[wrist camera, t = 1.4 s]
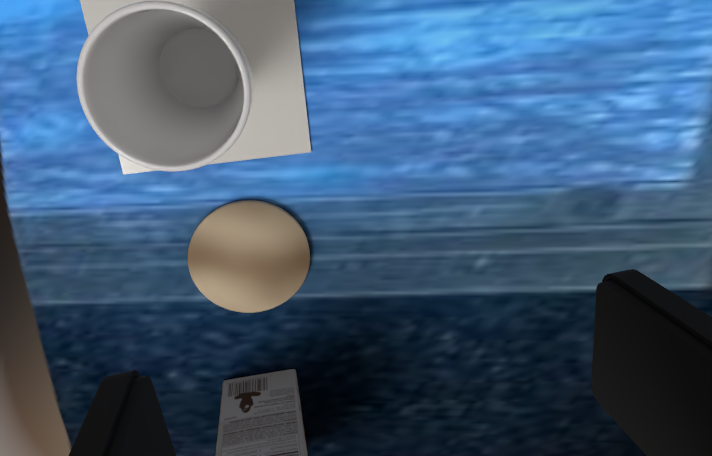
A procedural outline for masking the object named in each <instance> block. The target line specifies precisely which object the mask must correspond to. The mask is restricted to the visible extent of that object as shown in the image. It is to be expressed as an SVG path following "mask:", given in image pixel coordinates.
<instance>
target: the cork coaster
mask: <svg viewBox="0 0 712 456" xmlns="http://www.w3.org/2000/svg"><path fill="white" fill-rule="evenodd" d="M309 264H310V250H309V245H308V241H307V238H306V235H305V233H304V231H303V229H302V228H301V226H300V225H299V223H298V222H297V221H296V220H295V219H294V218H293V217H292V216H291V215H290V214H289V213H288V212H286V211H285V210H283V209H281V208H280V207H277V206H275V205H273V204H270V203H267V202H263V201H257V200H243V201H236V202H232V203H229V204H226V205H223V206H221V207H219V208H217V209H216V210H214V211H212V212H211V213H210V214H209V215H207V216H206V217H205V218H204V219H203V220H202V221H201V223H200V224H199V225H198V227H197V228H196V230H195V232H194V234H193V236H192V239H191V242H190V245H189V250H188V266H189V271H190V274H191V277H192V279H193V281H194V283H195V285H196V286H197V288H198V289H199V290H200V291H201V293H202V294H203V295H204V296H206V297H207V298H208V299H209V300H210V301H212V302H213V303H215V304H217V305H219V306H221V307H223V308H226V309H228V310H232V311H236V312H248V313H252V312H260V311H265V310H268V309H271V308H274V307H276V306H278V305H280V304H282V303H284V302H285V301H287V300H288V299H289V298H290V297H292V296H293V295H294V294H295V293H296V292H297V291H298V289H299V288H300V287H301V285H302V284H303V282H304V280H305V278H306V275H307V273H308V269H309Z"/></svg>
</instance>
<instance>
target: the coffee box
mask: <svg viewBox="0 0 712 456" xmlns="http://www.w3.org/2000/svg"><path fill="white" fill-rule="evenodd" d="M216 456H307V448H306V440H305V433H304V425H303V418H302V410H301V403H300V396H299V389H298V382H297V375H296V370H295V369H289V370H283V371H277V372H271V373H265V374H259V375H253V376H247V377H242V378H236V379H229V380H225V381H223V389H222V398H221V408H220V419H219V429H218V439H217V448H216Z"/></svg>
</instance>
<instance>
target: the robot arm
mask: <svg viewBox="0 0 712 456" xmlns="http://www.w3.org/2000/svg"><path fill="white" fill-rule="evenodd" d="M591 385H592V391H593V394H594V396H595V398H596V400H597V401H598V403H599V404H600V405H601V406H602V407H603V408H604V409H605V410H606V411H607V413H608V414H609V415H610V416H611V417H612V418H613V419H614V420H615V421H616V422H617V423H618V425H619V426H620V427H621V428H622V429H623V430H624V431H625V432H626V433H627V434H628V435H629V437H630V438H631V439H632V440H633V441H634V442H635V443H636V444H637V445H638V446H639V447H640V448H641V450H642V451H643V452H644V453H645V454H646V455H647V456H712V317H710V316H709V315H707V314H705V313H704V312H702V311H701V310H699V309H698V308H696V307H694V306H693V305H691V304H690V303H688V302H686V301H685V300H683V299H682V298H680V297H678V296H677V295H675V294H674V293H672V292H671V291H669V290H667V289H666V288H664V287H663V286H661V285H659V284H658V283H656V282H655V281H653V280H651V279H650V278H648V277H647V276H645V275H644V274H642V273H640V272H639V271H637V270H634V269H632V270H626V271H621V272H616V273H611V274H607V275H606V276H604V278H603V280H602V282H601V283H599V284H598V286H597V290H596V307H595V325H594V344H593V363H592V381H591ZM69 456H176V454H175V451H174V448H173V445H172V442H171V439H170V436H169V433H168V430H167V426H166V423H165V420H164V417H163V414H162V411H161V408H160V405H159V402H158V399H157V396H156V393H155V390H154V387H153V384H152V381H151V379H150V377H149V376H143V377H141V376H140V374H139V373H138V371H136V370H134V371H130V372H125V373H120V374H115V375H110V376H106V377H104V378H103V380H102V382H101V384H100V386H99V388H98V391H97V393H96V395H95V397H94V400H93V402H92V404H91V406H90V409H89V411H88V413H87V416H86V418H85V420H84V422H83V425H82V427H81V429H80V431H79V434H78V436H77V438H76V440H75V443H74V445H73V447H72V449H71V452H70V454H69Z"/></svg>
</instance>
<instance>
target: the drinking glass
mask: <svg viewBox="0 0 712 456" xmlns="http://www.w3.org/2000/svg"><path fill="white" fill-rule="evenodd" d="M77 88H78V94H79V99H80V102H81V105H82V108H83V111H84V113H85V115H86V117H87V119H88V121H89V123H90V124H91V126H92V128H93V129H94V130H95V132H96V133H97V134H98V136H99V137H100V138H101V139H102V140H103V141H104V142H105V143H106V144H107V145H108V146H109V147H110V148H111V149H113V150H114V151H115V152H116V153H118V154H119V155H121V156H122V157H124V158H126V159H127V160H129V161H131V162H133V163H136V164H138V165H141V166H143V167H146V168H150V169H154V170H160V171H186V170H191V169H195V168H199V167H202V166H204V165H206V164H209V163H211V162H212V161H214V160H216V159H217V158H219V157H220V156H222V155H223V154H224V153H225V152H227V151H228V150H229V149H230V148H231V147H232V146H233V144H234V143H235V142H236V141H237V139H238V138H239V136H240V135H241V133H242V131H243V129H244V127H245V124H246V122H247V120H248V117H249V114H250V111H251V107H252V102H253V93H254V82H253V74H252V69H251V65H250V62H249V59H248V57H247V54H246V52H245V50H244V48H243V47H242V45H241V43H240V42H239V40H238V39H237V38H236V36H235V35H234V34H233V33H232V32H231V30H230V29H229V28H228V27H227V26H225V25H224V24H223V23H222V22H221V21H220V20H218V19H217V18H215V17H214V16H212V15H211V14H209V13H207V12H205V11H203V10H201V9H199V8H196V7H193V6H191V5H187V4H183V3H178V2H172V1H144V2H137V3H134V4H130V5H127V6H124V7H122V8H120V9H118V10H116V11H114V12H112V13H111V14H109V15H108V16H106V17H105V18H104V19H103V20H102V21H100V22H99V23H98V24H97V26H96V27H95V28H94V29H93V30H92V32H91V33H90V34H89V36H88V38H87V39H86V41H85V43H84V45H83V48H82V50H81V53H80V57H79V61H78V66H77Z"/></svg>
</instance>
